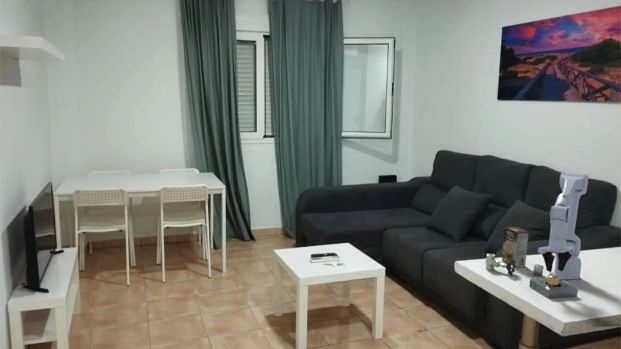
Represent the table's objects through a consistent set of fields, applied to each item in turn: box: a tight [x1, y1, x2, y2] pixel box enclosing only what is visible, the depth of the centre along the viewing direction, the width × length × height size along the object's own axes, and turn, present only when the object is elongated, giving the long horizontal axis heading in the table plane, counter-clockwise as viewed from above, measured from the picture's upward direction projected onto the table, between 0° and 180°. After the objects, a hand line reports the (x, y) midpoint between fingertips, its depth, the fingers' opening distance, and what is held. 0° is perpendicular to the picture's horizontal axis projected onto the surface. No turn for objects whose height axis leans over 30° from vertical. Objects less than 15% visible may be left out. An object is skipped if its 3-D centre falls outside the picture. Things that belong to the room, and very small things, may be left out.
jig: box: [528, 278, 579, 299], centre depth 196 cm, size 12×12×3 cm
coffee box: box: [501, 226, 530, 268], centre depth 228 cm, size 9×6×16 cm
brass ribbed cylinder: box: [546, 274, 559, 287], centre depth 196 cm, size 4×4×6 cm
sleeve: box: [532, 263, 545, 278], centre depth 215 cm, size 4×4×4 cm
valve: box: [485, 253, 517, 276], centre depth 218 cm, size 7×7×12 cm
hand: (554, 270), depth 195 cm, fingers open, 4 cm apart
